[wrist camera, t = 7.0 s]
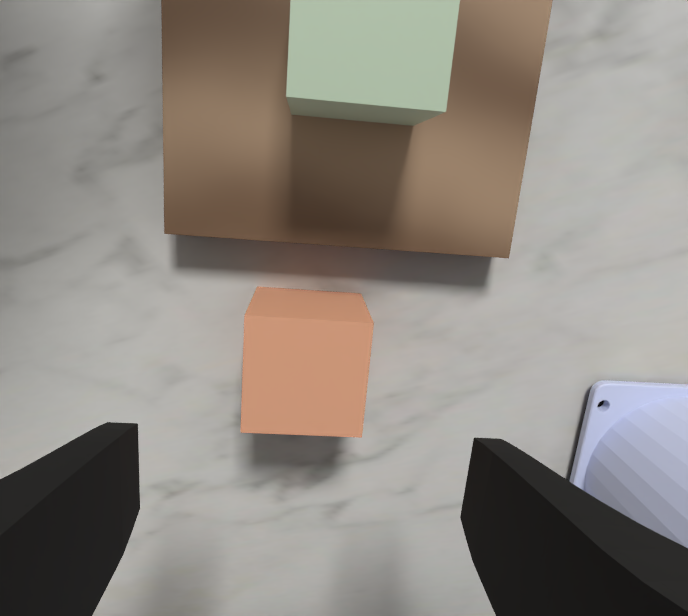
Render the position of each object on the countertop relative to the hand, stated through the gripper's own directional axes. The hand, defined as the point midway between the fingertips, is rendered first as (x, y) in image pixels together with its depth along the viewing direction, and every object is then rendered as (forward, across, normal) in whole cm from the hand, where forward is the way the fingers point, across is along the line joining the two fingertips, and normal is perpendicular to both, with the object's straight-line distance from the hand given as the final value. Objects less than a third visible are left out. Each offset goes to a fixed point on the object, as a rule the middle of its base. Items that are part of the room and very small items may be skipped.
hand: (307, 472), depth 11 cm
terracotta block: (+9, 0, 0) cm, 9 cm away
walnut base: (+9, -1, -10) cm, 14 cm away
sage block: (+8, -1, -10) cm, 13 cm away
